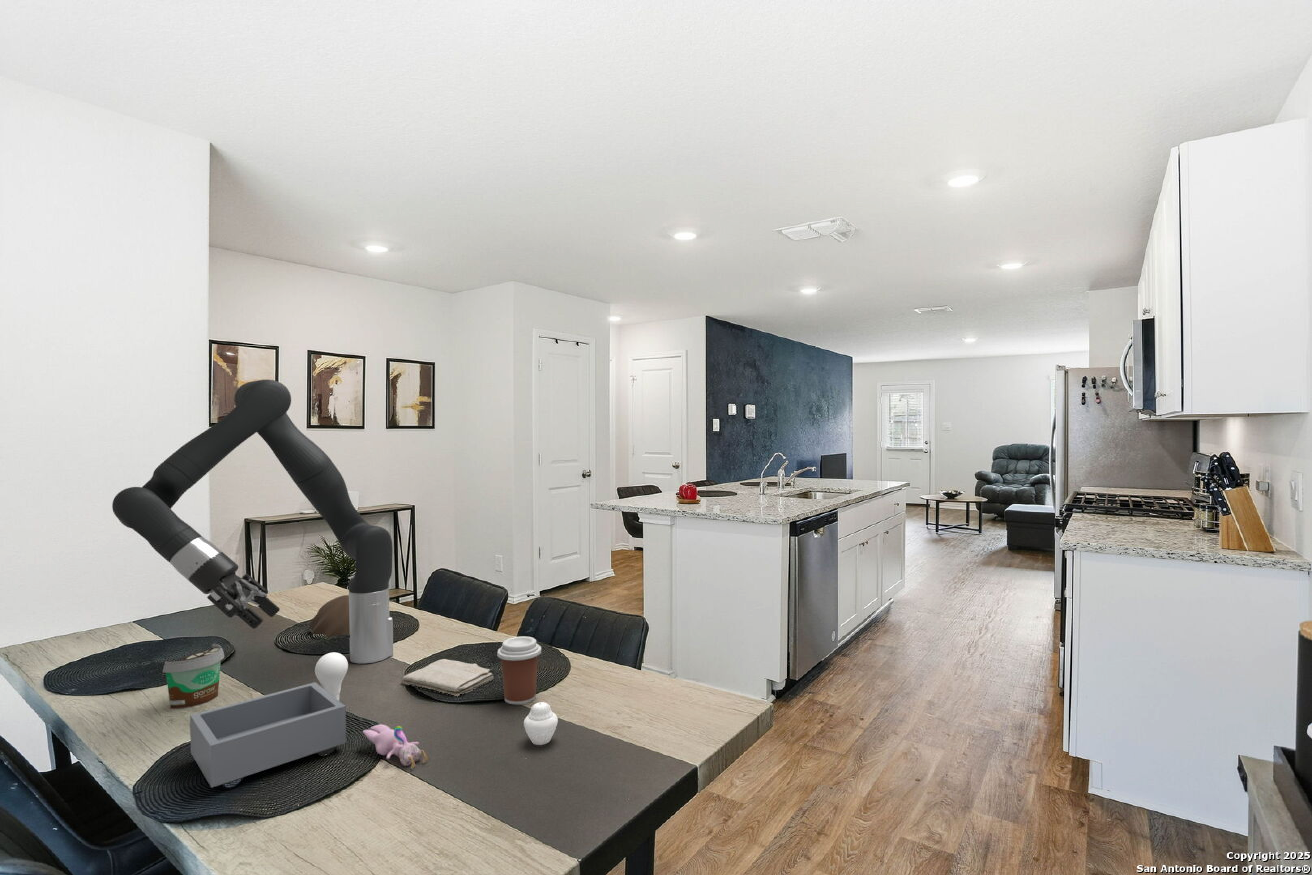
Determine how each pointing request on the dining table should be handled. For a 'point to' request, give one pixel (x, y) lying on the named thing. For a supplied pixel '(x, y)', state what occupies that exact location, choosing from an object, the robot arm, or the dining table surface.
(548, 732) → the white lidded jar
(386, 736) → the pink toy animal
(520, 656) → the coffee cup
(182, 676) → the food container
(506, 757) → the dining table surface
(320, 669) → the lightbulb
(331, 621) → the decorative dome
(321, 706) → the grey open box
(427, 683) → the washcloth
